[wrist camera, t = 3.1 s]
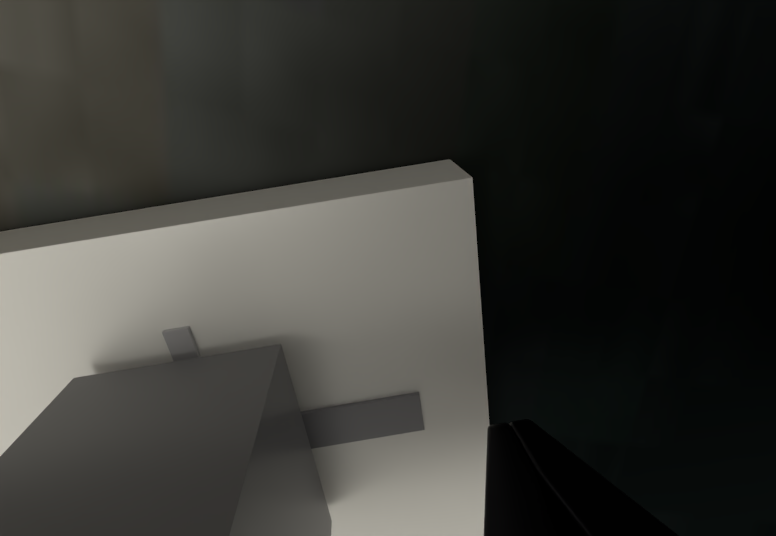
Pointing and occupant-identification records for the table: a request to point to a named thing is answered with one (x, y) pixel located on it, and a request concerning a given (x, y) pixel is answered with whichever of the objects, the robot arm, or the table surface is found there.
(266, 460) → the fader
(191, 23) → the table surface
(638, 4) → the table surface
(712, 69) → the table surface
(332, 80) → the table surface
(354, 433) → the slider track board
